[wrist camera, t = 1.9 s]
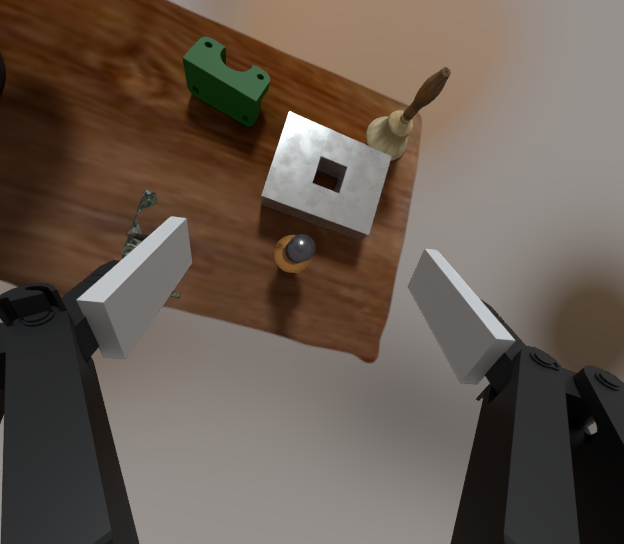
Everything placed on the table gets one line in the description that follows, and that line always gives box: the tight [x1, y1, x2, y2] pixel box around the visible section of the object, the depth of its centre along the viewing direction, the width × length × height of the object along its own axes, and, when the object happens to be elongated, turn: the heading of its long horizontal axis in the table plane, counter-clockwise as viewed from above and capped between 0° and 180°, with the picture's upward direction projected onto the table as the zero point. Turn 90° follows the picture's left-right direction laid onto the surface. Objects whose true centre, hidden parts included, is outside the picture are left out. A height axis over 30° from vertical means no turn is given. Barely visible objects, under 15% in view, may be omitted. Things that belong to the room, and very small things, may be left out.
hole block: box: [261, 111, 392, 239], centre depth 43 cm, size 18×14×5 cm
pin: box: [273, 234, 315, 273], centre depth 37 cm, size 6×6×14 cm
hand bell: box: [366, 67, 450, 161], centre depth 41 cm, size 8×8×16 cm
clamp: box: [183, 37, 270, 127], centre depth 40 cm, size 12×6×9 cm, turn 59°
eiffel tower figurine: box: [122, 190, 181, 298], centre depth 34 cm, size 15×10×13 cm
